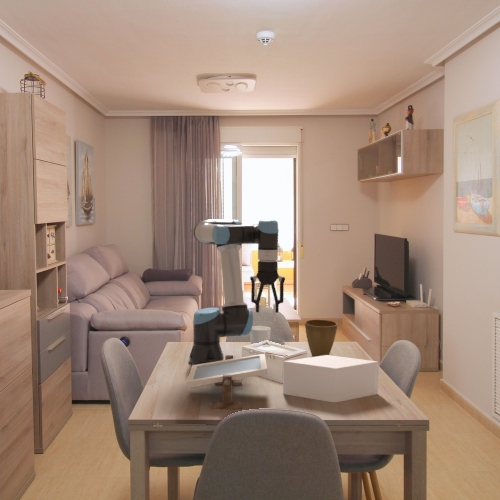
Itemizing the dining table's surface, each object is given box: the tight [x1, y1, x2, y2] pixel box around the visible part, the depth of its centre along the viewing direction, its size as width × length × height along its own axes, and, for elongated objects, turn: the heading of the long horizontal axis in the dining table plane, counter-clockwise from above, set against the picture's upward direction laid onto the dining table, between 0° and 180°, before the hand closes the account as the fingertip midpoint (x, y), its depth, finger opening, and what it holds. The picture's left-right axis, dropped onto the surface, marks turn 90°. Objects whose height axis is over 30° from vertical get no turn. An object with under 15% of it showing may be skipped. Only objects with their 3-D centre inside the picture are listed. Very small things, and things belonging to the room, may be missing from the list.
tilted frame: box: [186, 353, 269, 388], centre depth 190 cm, size 28×21×2 cm
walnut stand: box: [211, 354, 243, 410], centre depth 190 cm, size 10×27×11 cm, turn 1°
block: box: [282, 354, 379, 403], centre depth 193 cm, size 18×35×12 cm, turn 92°
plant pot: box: [304, 319, 338, 357], centre depth 242 cm, size 15×15×16 cm
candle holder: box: [249, 325, 271, 345], centre depth 248 cm, size 10×10×12 cm
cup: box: [268, 338, 286, 346], centre depth 231 cm, size 8×8×10 cm
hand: (266, 320), depth 202 cm, fingers open, 5 cm apart
